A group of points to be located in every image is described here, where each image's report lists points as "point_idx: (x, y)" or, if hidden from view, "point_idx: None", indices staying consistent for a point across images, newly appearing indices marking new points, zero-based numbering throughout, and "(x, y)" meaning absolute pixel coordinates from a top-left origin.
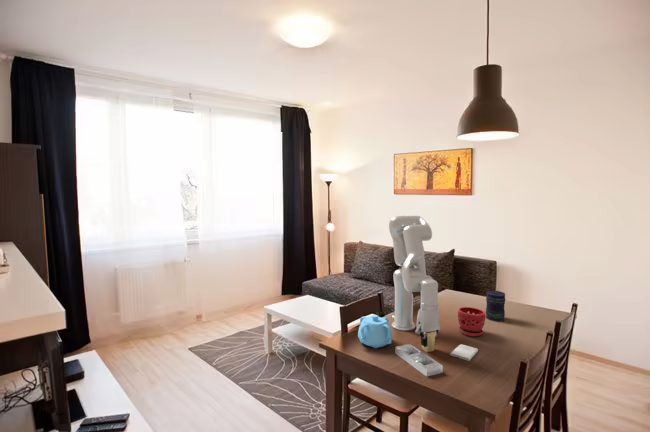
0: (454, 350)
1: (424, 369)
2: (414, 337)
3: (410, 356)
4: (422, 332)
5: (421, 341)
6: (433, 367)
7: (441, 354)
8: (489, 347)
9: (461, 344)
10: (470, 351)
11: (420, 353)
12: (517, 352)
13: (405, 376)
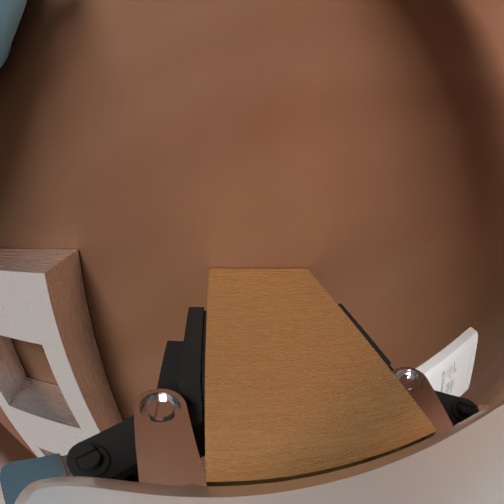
0: None
1: None
2: (327, 22)
3: (14, 420)
4: (181, 474)
5: (165, 365)
6: None
7: None
8: (501, 361)
9: (475, 340)
10: None
11: (80, 437)
12: (497, 398)
13: (7, 429)
